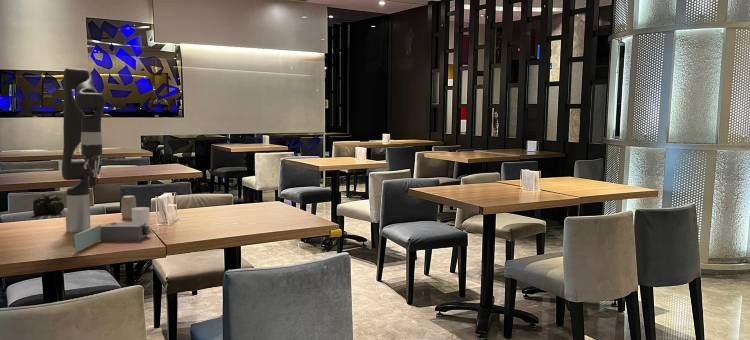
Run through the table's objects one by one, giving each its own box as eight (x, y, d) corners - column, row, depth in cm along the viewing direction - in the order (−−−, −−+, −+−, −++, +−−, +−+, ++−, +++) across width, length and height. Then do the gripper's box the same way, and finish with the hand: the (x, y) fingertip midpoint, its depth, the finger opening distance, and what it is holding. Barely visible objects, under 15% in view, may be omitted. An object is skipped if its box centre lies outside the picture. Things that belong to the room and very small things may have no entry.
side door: (97, 239, 240) (96, 224, 239) (101, 239, 240) (101, 224, 239) (72, 251, 219) (72, 234, 218) (77, 251, 219) (76, 234, 218)
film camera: (53, 215, 299) (52, 197, 298) (30, 215, 299) (29, 197, 298) (71, 210, 317) (70, 192, 316) (49, 210, 317) (48, 192, 316)
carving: (139, 218, 293) (138, 195, 292) (127, 220, 286) (126, 197, 285) (131, 217, 296) (130, 194, 295) (118, 219, 289) (118, 196, 288)
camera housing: (101, 240, 240) (100, 225, 240) (109, 236, 249) (109, 221, 249) (142, 240, 241) (142, 225, 240) (149, 236, 250) (149, 221, 249)
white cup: (132, 231, 260) (132, 210, 259) (131, 228, 267) (130, 207, 266) (151, 230, 263) (150, 209, 262) (149, 227, 270) (148, 206, 269)
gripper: (89, 141, 231) (91, 183, 233) (73, 144, 218) (75, 188, 220) (108, 142, 231) (109, 184, 233) (93, 144, 218) (95, 188, 220)
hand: (93, 186), depth 226 cm, fingers closed
